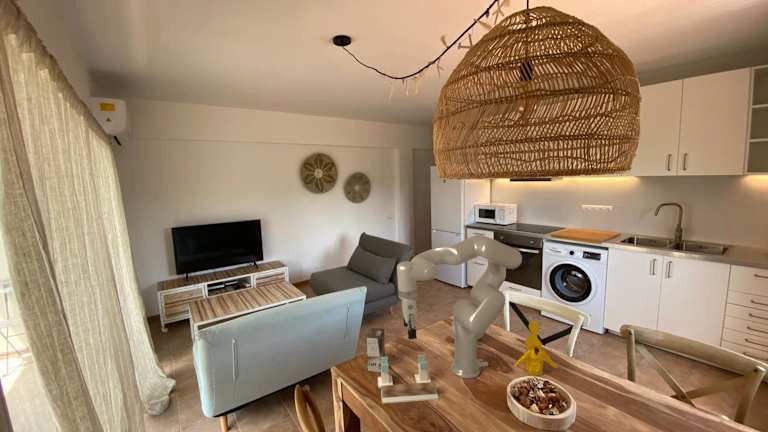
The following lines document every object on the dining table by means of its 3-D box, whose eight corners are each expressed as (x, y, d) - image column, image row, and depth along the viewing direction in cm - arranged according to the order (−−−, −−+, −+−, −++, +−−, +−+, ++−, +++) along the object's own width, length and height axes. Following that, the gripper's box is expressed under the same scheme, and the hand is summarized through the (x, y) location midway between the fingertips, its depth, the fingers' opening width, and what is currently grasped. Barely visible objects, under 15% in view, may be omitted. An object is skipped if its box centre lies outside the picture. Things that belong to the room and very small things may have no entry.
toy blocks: (428, 375, 135) (428, 353, 133) (431, 384, 129) (431, 362, 127) (414, 376, 134) (414, 354, 133) (417, 385, 128) (416, 363, 127)
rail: (435, 388, 125) (435, 381, 125) (436, 393, 122) (436, 387, 122) (381, 392, 124) (381, 385, 124) (382, 397, 121) (382, 391, 121)
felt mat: (434, 386, 127) (434, 385, 127) (438, 399, 120) (438, 398, 120) (381, 390, 126) (381, 389, 126) (382, 403, 119) (381, 402, 119)
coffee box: (381, 372, 137) (380, 338, 135) (367, 371, 139) (366, 337, 136) (385, 360, 146) (384, 328, 144) (372, 358, 147) (371, 327, 145)
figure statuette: (515, 376, 132) (517, 327, 129) (510, 364, 140) (511, 318, 137) (559, 377, 131) (562, 328, 127) (551, 365, 138) (554, 319, 135)
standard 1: (391, 377, 134) (391, 356, 132) (392, 387, 128) (392, 365, 126) (377, 378, 133) (377, 357, 132) (378, 388, 127) (377, 366, 126)
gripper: (421, 300, 116) (423, 342, 119) (412, 283, 133) (414, 320, 136) (402, 302, 116) (404, 345, 118) (395, 285, 133) (397, 322, 135)
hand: (410, 332), depth 127 cm, fingers open, 9 cm apart
